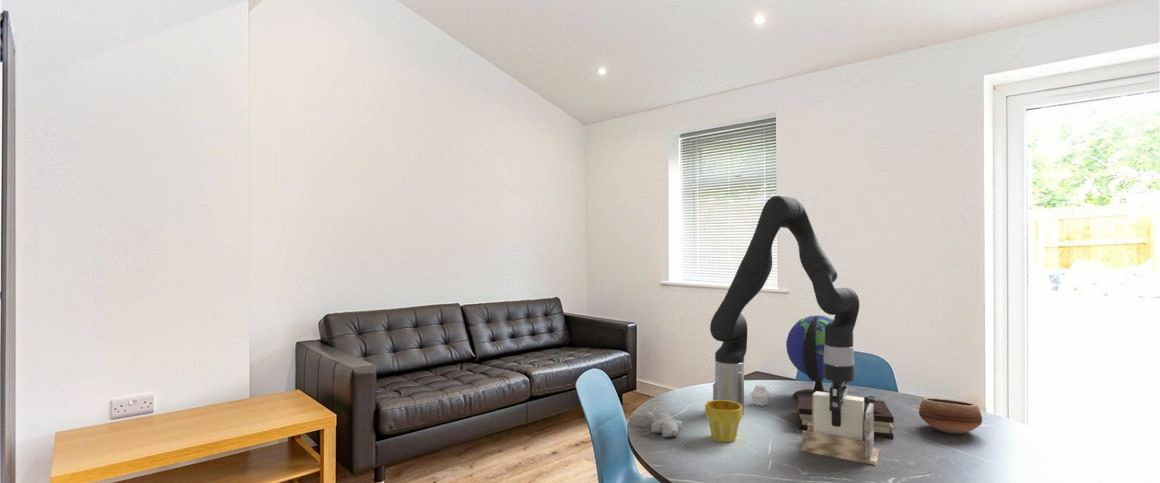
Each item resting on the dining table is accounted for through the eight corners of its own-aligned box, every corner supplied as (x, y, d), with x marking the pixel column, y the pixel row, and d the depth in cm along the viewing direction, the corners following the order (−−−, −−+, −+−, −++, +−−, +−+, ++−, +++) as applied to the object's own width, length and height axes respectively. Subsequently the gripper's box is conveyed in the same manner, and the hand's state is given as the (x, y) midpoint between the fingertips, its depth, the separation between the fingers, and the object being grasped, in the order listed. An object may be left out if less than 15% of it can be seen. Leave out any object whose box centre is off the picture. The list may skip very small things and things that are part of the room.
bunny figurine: (657, 427, 161) (640, 405, 176) (656, 444, 162) (640, 421, 176) (688, 424, 163) (669, 403, 178) (687, 441, 164) (668, 419, 178)
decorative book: (789, 389, 188) (891, 397, 178) (789, 412, 188) (891, 421, 178) (791, 406, 170) (903, 416, 160) (790, 431, 170) (903, 443, 160)
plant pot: (722, 447, 156) (722, 412, 156) (697, 435, 165) (697, 402, 165) (750, 441, 160) (750, 407, 160) (725, 430, 170) (725, 397, 169)
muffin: (754, 400, 200) (754, 381, 200) (771, 403, 196) (771, 383, 196) (748, 405, 195) (748, 384, 195) (766, 408, 191) (766, 387, 191)
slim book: (812, 445, 154) (812, 394, 154) (814, 440, 158) (814, 390, 158) (862, 454, 148) (862, 401, 148) (864, 449, 151) (864, 397, 151)
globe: (865, 408, 191) (865, 319, 190) (799, 408, 191) (799, 319, 191) (836, 390, 213) (836, 311, 213) (777, 390, 213) (777, 311, 213)
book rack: (801, 450, 153) (801, 403, 153) (809, 439, 161) (809, 394, 161) (876, 465, 143) (876, 414, 143) (879, 452, 152) (880, 404, 152)
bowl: (975, 427, 171) (975, 394, 171) (987, 445, 157) (987, 409, 157) (915, 420, 178) (916, 389, 178) (922, 436, 164) (922, 402, 163)
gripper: (828, 355, 160) (828, 412, 160) (819, 365, 148) (819, 426, 149) (857, 358, 156) (857, 416, 156) (850, 368, 144) (850, 431, 144)
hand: (838, 421), depth 152 cm, fingers open, 8 cm apart
